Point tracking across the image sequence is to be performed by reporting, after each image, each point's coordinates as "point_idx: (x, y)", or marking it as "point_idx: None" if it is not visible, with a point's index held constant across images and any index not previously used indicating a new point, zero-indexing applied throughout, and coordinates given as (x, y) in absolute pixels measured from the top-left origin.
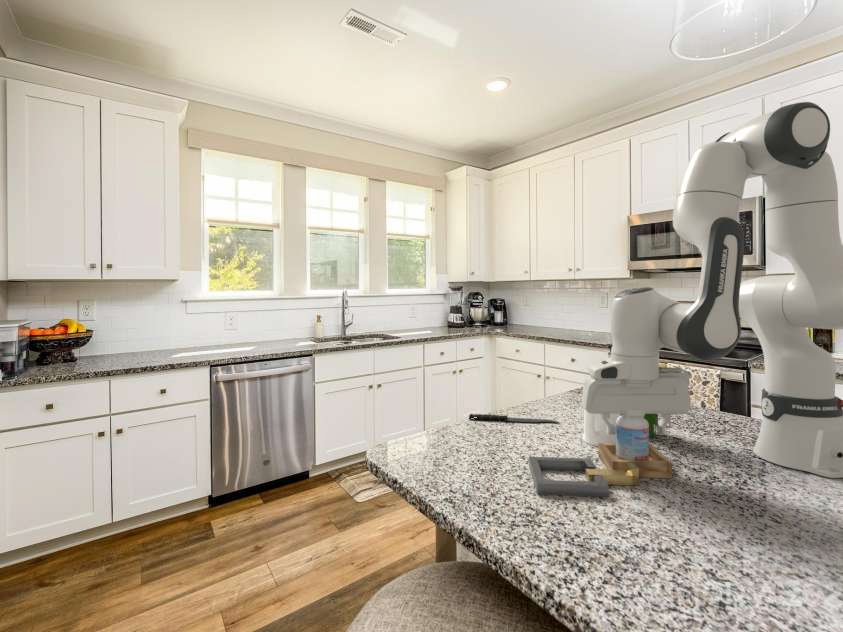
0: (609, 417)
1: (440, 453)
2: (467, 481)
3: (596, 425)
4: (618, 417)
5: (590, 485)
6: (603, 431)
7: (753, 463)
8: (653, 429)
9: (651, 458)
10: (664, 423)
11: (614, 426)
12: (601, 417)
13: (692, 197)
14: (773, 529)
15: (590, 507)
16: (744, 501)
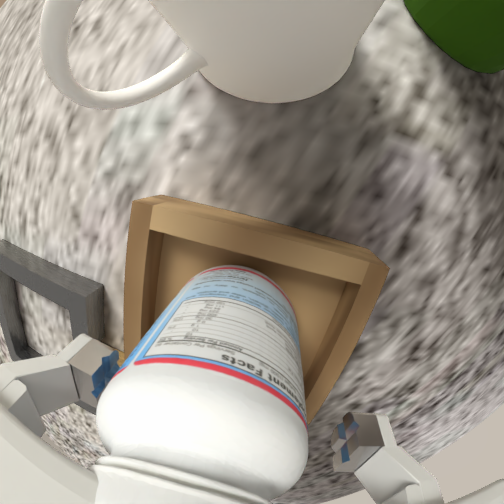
0: (42, 431)
1: None
2: None
3: (182, 38)
4: (101, 421)
5: (75, 403)
6: (225, 65)
7: None
8: (498, 69)
9: (329, 312)
10: (368, 487)
11: (92, 404)
12: (13, 368)
13: None
14: (309, 488)
15: (84, 409)
16: None
